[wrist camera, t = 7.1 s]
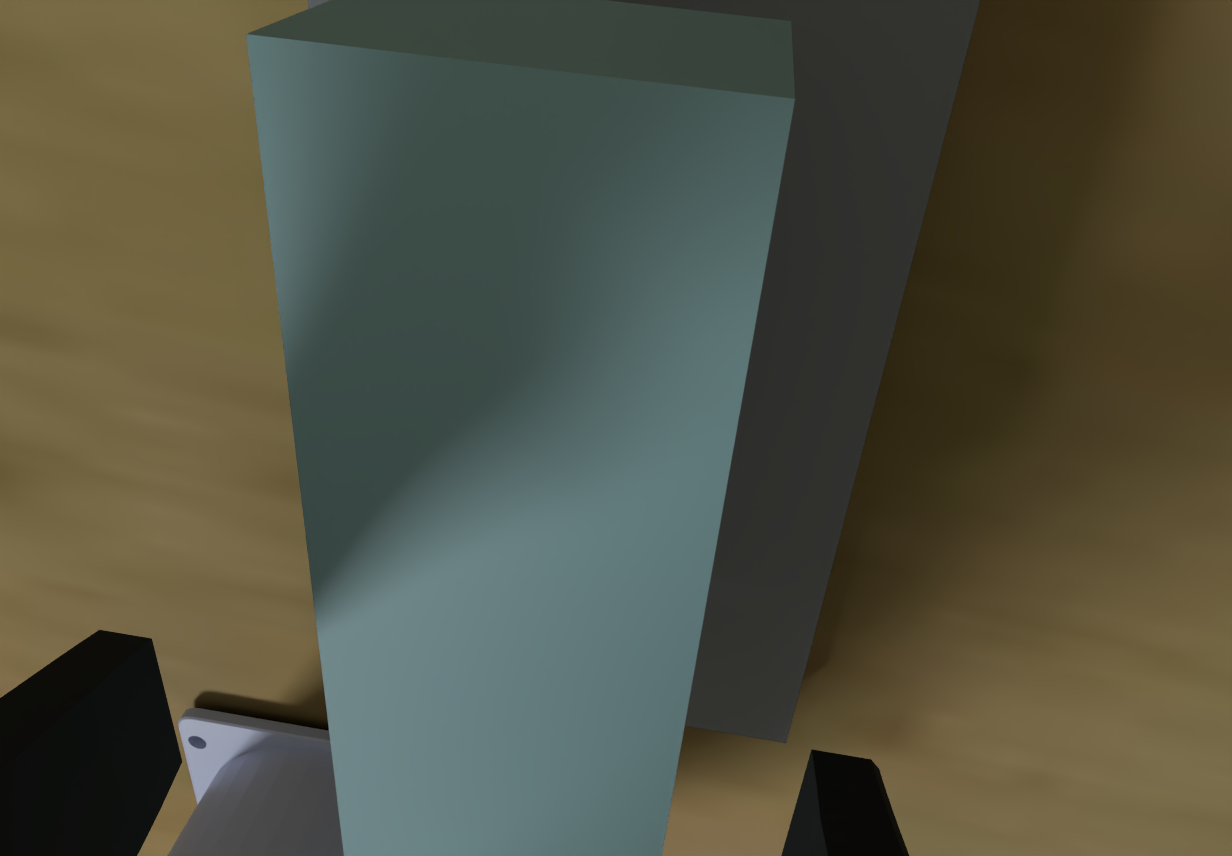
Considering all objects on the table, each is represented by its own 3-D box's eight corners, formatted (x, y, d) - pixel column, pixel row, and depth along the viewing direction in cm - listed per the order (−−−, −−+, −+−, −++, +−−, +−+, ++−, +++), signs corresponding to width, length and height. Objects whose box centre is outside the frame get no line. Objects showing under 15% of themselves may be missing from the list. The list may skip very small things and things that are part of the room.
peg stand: (785, 693, 24) (786, 906, 19) (387, 628, 24) (295, 817, 20) (1004, -176, 14) (1115, -174, 9) (329, -239, 15) (121, -266, 10)
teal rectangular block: (657, 818, 18) (633, 1013, 15) (423, 777, 18) (356, 959, 16) (790, 20, 11) (795, 98, 8) (389, -25, 11) (246, 34, 8)
